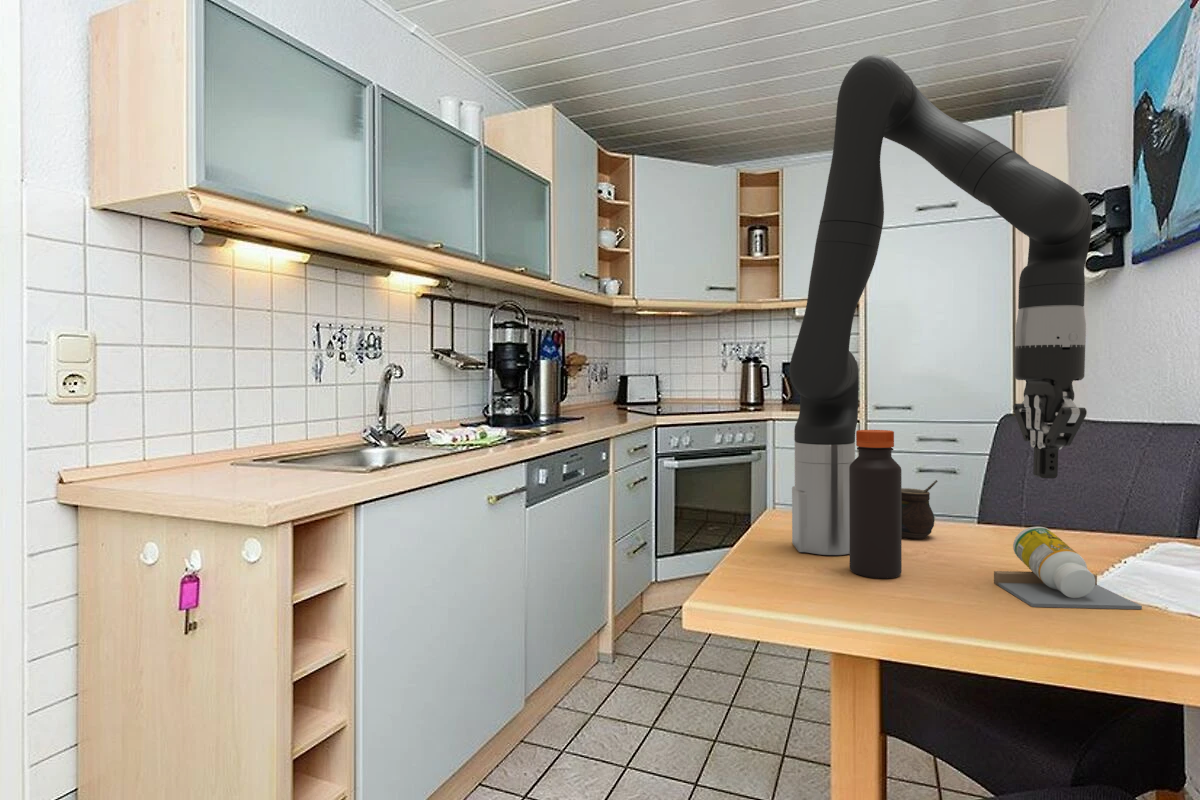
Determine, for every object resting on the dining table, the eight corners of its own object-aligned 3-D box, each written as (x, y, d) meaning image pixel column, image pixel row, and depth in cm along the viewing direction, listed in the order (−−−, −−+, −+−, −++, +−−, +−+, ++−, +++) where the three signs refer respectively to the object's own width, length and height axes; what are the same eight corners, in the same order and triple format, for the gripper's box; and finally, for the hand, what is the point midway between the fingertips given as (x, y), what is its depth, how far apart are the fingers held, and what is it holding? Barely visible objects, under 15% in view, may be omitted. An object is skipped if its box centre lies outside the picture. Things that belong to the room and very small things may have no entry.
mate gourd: (883, 531, 119) (883, 475, 119) (927, 532, 118) (928, 476, 117) (895, 540, 112) (896, 481, 111) (942, 542, 111) (943, 482, 110)
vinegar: (861, 563, 98) (861, 428, 98) (909, 572, 93) (909, 430, 93) (841, 572, 93) (840, 431, 93) (889, 582, 88) (889, 433, 88)
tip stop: (1032, 606, 78) (1032, 593, 78) (993, 582, 88) (993, 570, 88) (1141, 609, 77) (1141, 595, 77) (1091, 584, 86) (1091, 572, 86)
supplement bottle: (1003, 546, 89) (1044, 587, 80) (1033, 517, 87) (1079, 556, 78) (1032, 567, 90) (1076, 610, 80) (1062, 539, 88) (1111, 580, 79)
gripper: (993, 346, 92) (990, 469, 93) (1046, 340, 79) (1042, 485, 80) (1051, 346, 91) (1047, 471, 92) (1114, 340, 78) (1109, 486, 79)
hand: (1045, 477), depth 86 cm, fingers closed
